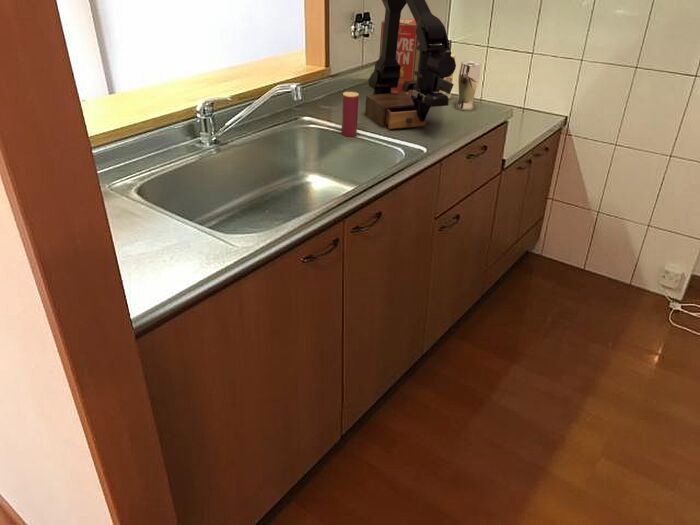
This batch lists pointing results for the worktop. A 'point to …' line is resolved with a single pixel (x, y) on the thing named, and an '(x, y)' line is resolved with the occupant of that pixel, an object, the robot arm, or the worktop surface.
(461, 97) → the beer glass
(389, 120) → the drawer
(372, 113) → the cabinet
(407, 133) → the worktop surface
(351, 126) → the snack tube
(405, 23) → the food packaging
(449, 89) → the robot arm
